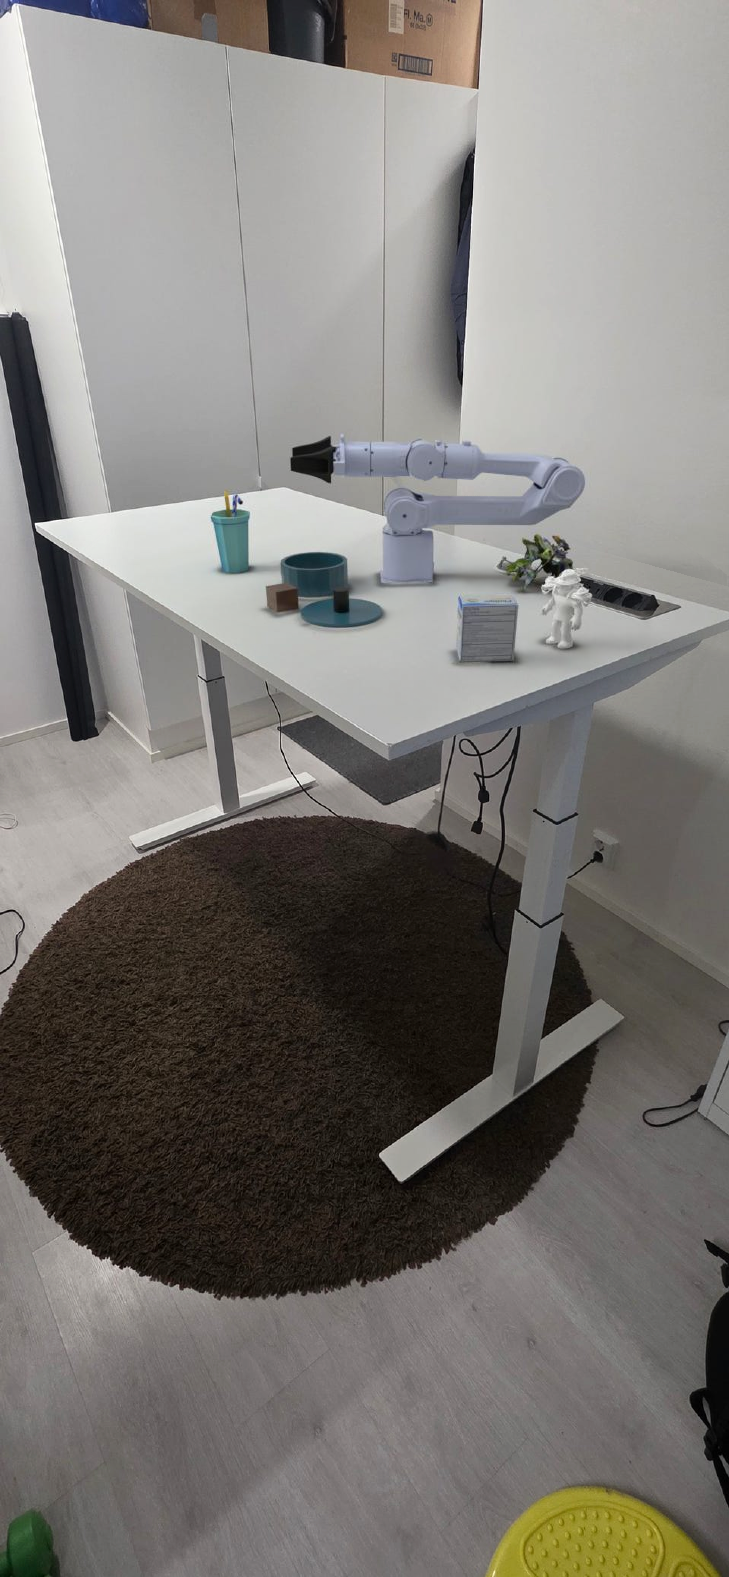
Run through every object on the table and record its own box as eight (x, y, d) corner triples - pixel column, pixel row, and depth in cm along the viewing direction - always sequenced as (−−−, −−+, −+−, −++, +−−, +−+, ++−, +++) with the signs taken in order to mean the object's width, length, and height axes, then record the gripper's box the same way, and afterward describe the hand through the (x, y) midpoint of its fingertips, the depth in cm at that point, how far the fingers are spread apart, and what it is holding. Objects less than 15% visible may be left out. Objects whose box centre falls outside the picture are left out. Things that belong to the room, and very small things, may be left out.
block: (288, 605, 140) (287, 582, 138) (299, 611, 137) (297, 588, 135) (267, 609, 138) (265, 586, 136) (277, 615, 135) (275, 592, 133)
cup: (267, 576, 155) (261, 494, 147) (228, 582, 152) (219, 499, 144) (245, 559, 166) (238, 482, 158) (208, 564, 163) (199, 486, 155)
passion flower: (552, 614, 150) (595, 567, 141) (512, 615, 143) (555, 567, 135) (522, 568, 154) (562, 520, 145) (482, 567, 147) (522, 517, 139)
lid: (381, 603, 140) (381, 576, 137) (383, 630, 128) (383, 601, 126) (303, 605, 140) (302, 578, 137) (298, 631, 128) (297, 602, 126)
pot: (348, 580, 152) (347, 551, 149) (347, 600, 142) (346, 569, 139) (285, 581, 152) (283, 552, 149) (280, 601, 142) (278, 570, 139)
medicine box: (508, 651, 120) (513, 593, 115) (514, 662, 116) (519, 603, 111) (455, 652, 120) (457, 594, 115) (459, 663, 116) (462, 604, 111)
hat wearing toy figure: (590, 650, 119) (601, 569, 113) (570, 655, 118) (580, 573, 112) (549, 632, 126) (557, 554, 120) (529, 637, 125) (537, 558, 118)
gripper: (368, 426, 145) (292, 426, 144) (371, 443, 133) (288, 443, 132) (367, 468, 149) (293, 468, 148) (371, 488, 137) (290, 487, 136)
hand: (291, 459), depth 141 cm, fingers open, 7 cm apart
